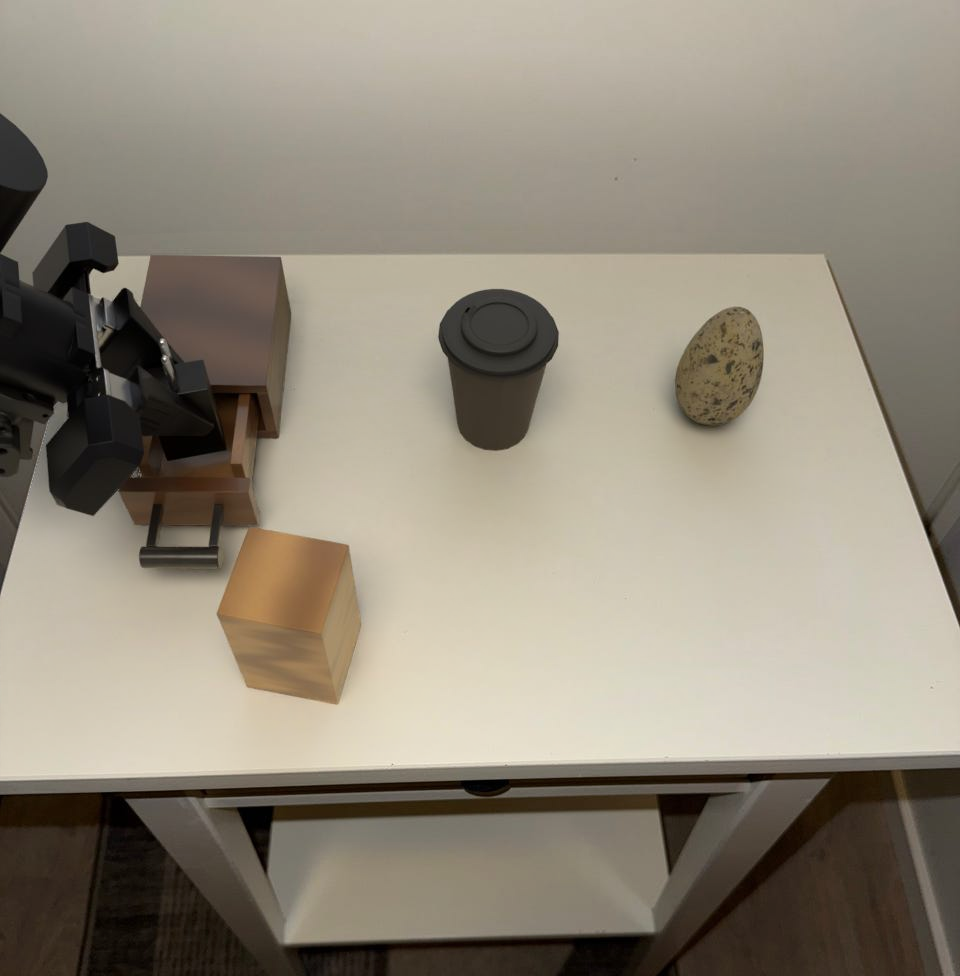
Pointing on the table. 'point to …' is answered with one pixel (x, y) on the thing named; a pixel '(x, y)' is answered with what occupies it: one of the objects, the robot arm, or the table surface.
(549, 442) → the table surface
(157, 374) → the black wall charger
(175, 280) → the cabinet
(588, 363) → the table surface
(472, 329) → the coffee cup
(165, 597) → the table surface
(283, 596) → the pedestal
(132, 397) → the robot arm
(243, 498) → the drawer
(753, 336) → the decorative egg
